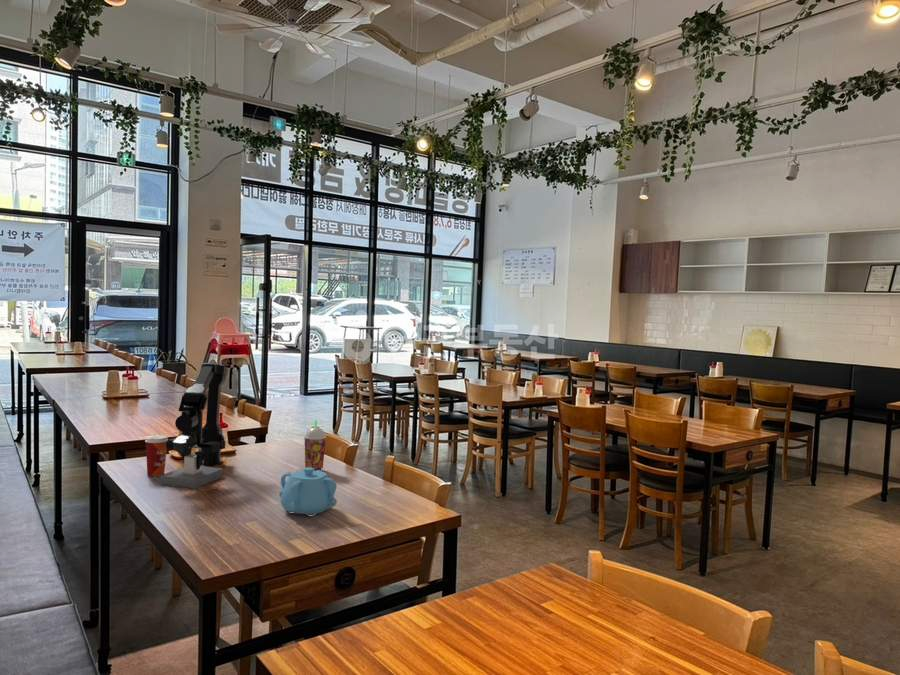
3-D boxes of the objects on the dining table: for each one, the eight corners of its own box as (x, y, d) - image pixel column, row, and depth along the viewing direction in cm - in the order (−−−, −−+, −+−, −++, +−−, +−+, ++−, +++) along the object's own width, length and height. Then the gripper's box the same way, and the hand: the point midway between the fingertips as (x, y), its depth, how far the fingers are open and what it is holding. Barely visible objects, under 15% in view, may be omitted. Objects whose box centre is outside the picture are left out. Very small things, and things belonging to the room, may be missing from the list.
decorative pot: (328, 500, 203) (329, 460, 203) (338, 516, 188) (340, 473, 188) (278, 504, 197) (279, 463, 196) (284, 521, 182) (286, 476, 181)
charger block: (191, 470, 220) (191, 453, 220) (200, 471, 219) (201, 454, 219) (183, 473, 216) (184, 456, 216) (193, 474, 215) (194, 457, 215)
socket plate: (189, 472, 227) (189, 464, 227) (222, 476, 224) (222, 468, 224) (159, 484, 212) (160, 475, 211) (195, 488, 208) (195, 480, 208)
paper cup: (161, 478, 218) (162, 439, 218) (139, 477, 219) (140, 438, 218) (171, 472, 226) (172, 435, 226) (150, 471, 226) (151, 434, 226)
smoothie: (301, 468, 239) (302, 418, 238) (322, 467, 243) (324, 418, 242) (305, 474, 232) (307, 422, 231) (327, 473, 235) (329, 422, 234)
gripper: (155, 427, 211) (154, 471, 212) (202, 432, 207) (201, 477, 208) (176, 422, 222) (175, 464, 223) (221, 426, 218) (220, 469, 219)
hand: (192, 468), depth 218 cm, fingers closed on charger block, 4 cm apart
